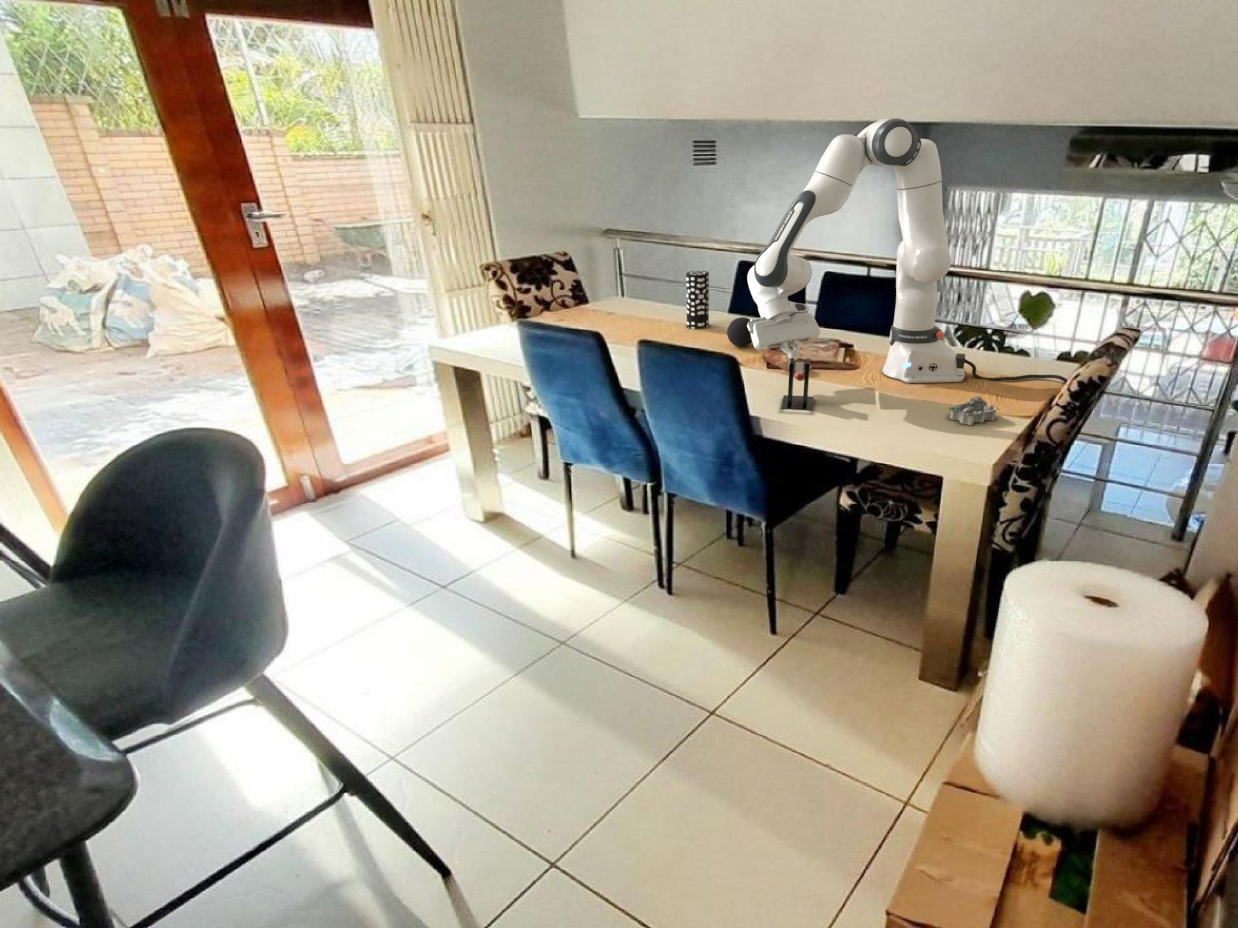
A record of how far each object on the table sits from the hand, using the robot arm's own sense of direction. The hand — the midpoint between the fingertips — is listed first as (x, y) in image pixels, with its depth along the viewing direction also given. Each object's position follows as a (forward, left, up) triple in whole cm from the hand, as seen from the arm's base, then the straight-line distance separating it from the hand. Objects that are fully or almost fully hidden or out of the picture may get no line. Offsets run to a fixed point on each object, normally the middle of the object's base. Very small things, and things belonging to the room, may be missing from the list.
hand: (795, 357), depth 196 cm
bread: (+5, -20, -10) cm, 23 cm away
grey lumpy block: (-45, +14, -10) cm, 48 cm away
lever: (-2, +8, -3) cm, 9 cm away
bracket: (-2, +12, -10) cm, 16 cm away
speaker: (+20, -42, -10) cm, 48 cm away
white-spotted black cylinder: (+40, -67, -10) cm, 79 cm away
